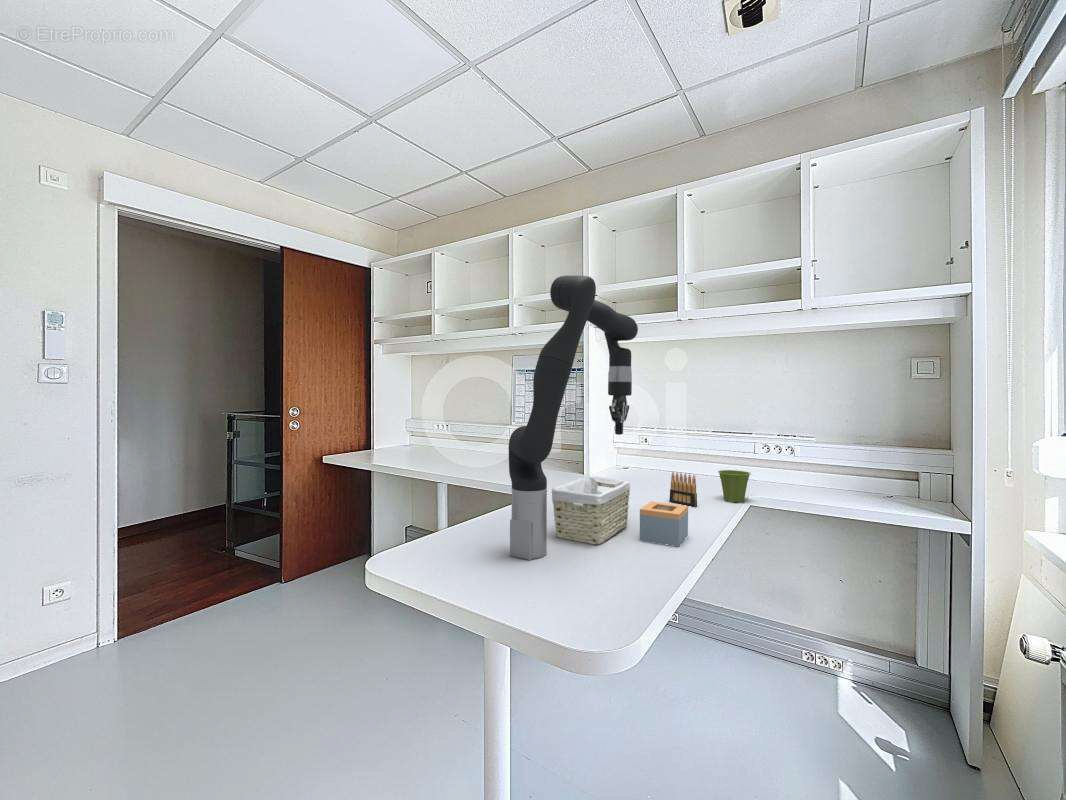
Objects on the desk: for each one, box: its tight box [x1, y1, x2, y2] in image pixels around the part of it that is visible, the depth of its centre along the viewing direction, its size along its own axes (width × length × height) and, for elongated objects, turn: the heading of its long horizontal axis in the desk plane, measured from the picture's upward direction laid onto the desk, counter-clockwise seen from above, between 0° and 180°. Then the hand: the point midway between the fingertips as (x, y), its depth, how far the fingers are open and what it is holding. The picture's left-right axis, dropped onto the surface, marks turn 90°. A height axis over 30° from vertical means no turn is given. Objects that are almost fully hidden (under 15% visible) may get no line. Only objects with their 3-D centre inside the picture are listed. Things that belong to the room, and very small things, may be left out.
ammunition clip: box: [668, 471, 698, 508], centre depth 178 cm, size 11×2×12 cm, turn 41°
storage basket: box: [551, 475, 631, 545], centre depth 142 cm, size 24×16×15 cm
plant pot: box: [717, 469, 752, 503], centre depth 184 cm, size 12×12×11 cm
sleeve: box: [639, 500, 689, 547], centre depth 136 cm, size 11×11×9 cm
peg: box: [657, 506, 671, 511], centre depth 137 cm, size 4×4×9 cm
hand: (619, 434), depth 153 cm, fingers closed
